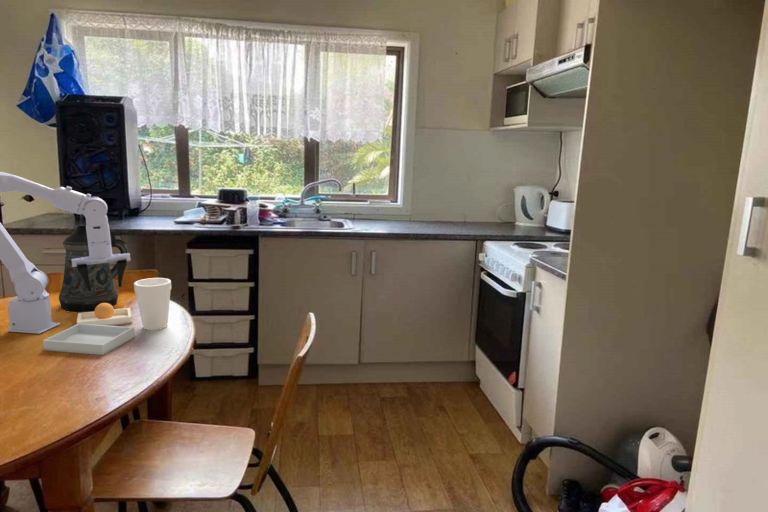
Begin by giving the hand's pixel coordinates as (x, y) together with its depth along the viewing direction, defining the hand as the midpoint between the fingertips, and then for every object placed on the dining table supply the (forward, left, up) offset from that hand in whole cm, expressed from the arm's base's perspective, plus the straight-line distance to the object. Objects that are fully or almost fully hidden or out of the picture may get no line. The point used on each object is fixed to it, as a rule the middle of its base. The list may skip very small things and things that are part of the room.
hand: (105, 288), depth 152 cm
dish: (-1, 0, -10) cm, 10 cm away
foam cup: (+15, -1, -10) cm, 18 cm away
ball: (-1, 0, -7) cm, 7 cm away
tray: (+6, -16, -10) cm, 20 cm away
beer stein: (-15, +15, -10) cm, 23 cm away
